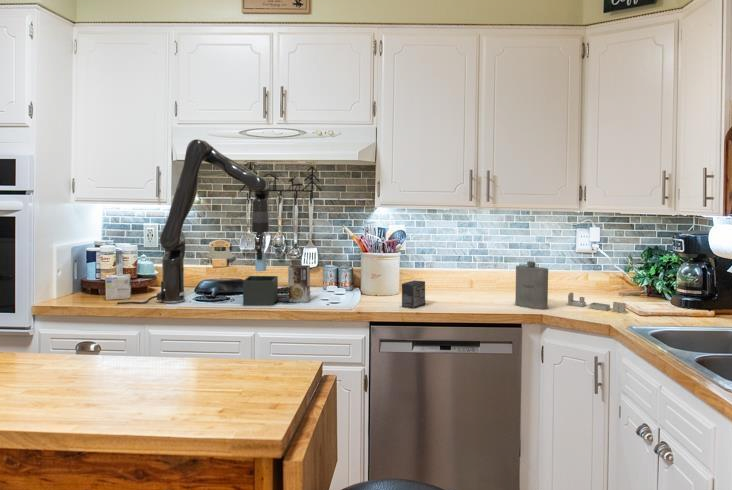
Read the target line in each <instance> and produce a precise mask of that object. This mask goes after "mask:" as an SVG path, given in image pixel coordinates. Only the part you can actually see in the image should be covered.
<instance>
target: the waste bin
mask: <svg viewBox="0 0 732 490" xmlns="http://www.w3.org/2000/svg"><path fill="white" fill-rule="evenodd" d="M278 278H279V275H248V276H247V277H246V278H245V279H244V280H242V305H243V306H257V307H258V306H260V307H261V306H266V307H267V306H268V307H269V306H274V305H275V304H276V302H277V301H278V299H279V296H278V295H279V294H278V293H279V290H278V289H279V287H278V286H279V285H278V284H279V282H278V281H279V279H278Z"/></svg>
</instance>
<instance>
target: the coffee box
mask: <svg viewBox="0 0 732 490" xmlns="http://www.w3.org/2000/svg"><path fill="white" fill-rule="evenodd" d="M287 273H288V274H287V275H288V277H287V279H288V281H287V283H288V303H308V302H310V301H311V265H309V264H307V265H306V264H304V265H301V264H298V265H295V264H291V265H290V266H288V267H287Z"/></svg>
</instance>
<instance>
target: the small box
mask: <svg viewBox="0 0 732 490" xmlns="http://www.w3.org/2000/svg"><path fill="white" fill-rule="evenodd" d="M424 305H426V281H424V280H411V281H407V282H404V283H403V282H402V283H401V307H402V308H408V309H416V308H418V307H421V306H424Z"/></svg>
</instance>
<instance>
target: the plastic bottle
mask: <svg viewBox="0 0 732 490" xmlns="http://www.w3.org/2000/svg"><path fill="white" fill-rule="evenodd" d="M254 268H255V269H254V271H255V272H266V271H267V254H265V250H264V248H262V259H261V260H257V254H255V255H254Z"/></svg>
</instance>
